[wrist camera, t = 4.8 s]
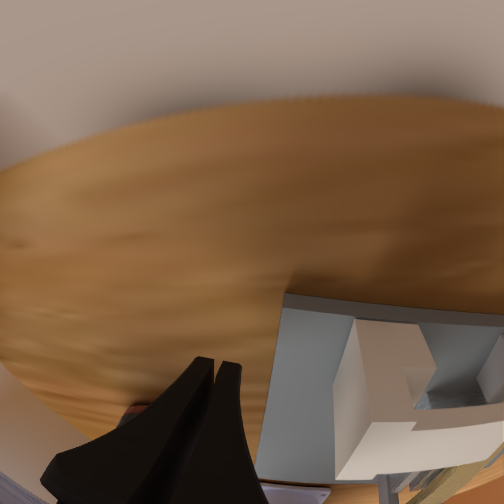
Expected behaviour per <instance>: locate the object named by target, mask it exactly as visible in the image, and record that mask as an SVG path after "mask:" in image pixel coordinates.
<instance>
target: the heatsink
mask: <svg viewBox="0 0 504 504" xmlns="http://www.w3.org/2000/svg"><path fill="white" fill-rule="evenodd" d="M497 403H502V402H494V403H487V401H486V399H485V396H484V394H483V392H482V390H469V391H450V392H426V394H425V395H424V397H423V399H422V400H421V402H420V403H419V405H418V407H417V408H416V410H427V409H446V408H460V407H471V406H481V405H490V404H497ZM444 469H445V468H440V469H433V470H425V471H415V472H405V473H391V474H384V475H389V476H390V486H391V493H399V492H401V491H402V490H403V489H404V488H405V487H406V486H407V485H408V484H409V486H410V491H417V490H419V489H420V488H421V487H422V486H423V485H424V484H425V483H427V485H428V484H429V483H430V482H431V481H433V480H434V479H435V478H436V477H437V476H438V475H439V474H440V473H441V472H442V471H443V470H444Z"/></svg>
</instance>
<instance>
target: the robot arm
mask: <svg viewBox="0 0 504 504" xmlns="http://www.w3.org/2000/svg"><path fill="white" fill-rule="evenodd" d="M241 372H242V366H241V365H240V364H238V363H232V362H227V361H223V362H222V364H221V366H220V368H219V371H218V373H217V375H216V379H215V384H214V359H210V358H205V357H200V356H198V357H196V358H195V359H194V361H193V362H192V363H191V364H190V365H189V366H188V368H187V369H186V370H185V371H184V372H183V373H182V374H181V375H180V376H179V378H178V379H177V380H176V381H175V382H174V383H173V384H172V385H171V386H170V387H169V388H168V389H167V390H166V391H165V392H164V393H162V394H161V395H160V396H159V397H158V398H157V399H156V400H154V401H153V402H152V403H151V404H150V405H149V406H147V407H146V408H145V409H144V410H142V411H141V412H140V413H138V414H137V415H136V416H134V417H133V418H131V419H130V420H129V421H127V422H125V423H124V424H122V425H121V426H119V427H117V428H116V429H114V430H112V431H111V432H109V433H107V434H105V435H103V436H101V437H99V438H97V439H95V440H93V441H91V442H88V443H86V444H84V445H81V446H79V447H76V448H73V449H70V450H67V451H64V452H61V453H58V454H56V456H55V457H54V458H53V459H52V461H51V462H50V464H49V465H48V467H47V468H46V470H45V472H44V474H43V475H42V477H41V478H40V482H41V484H42V485H43V486H44V487H45V488H46V489H47V490H48V491H49V492H50V493H51V494H52V495H53V496H54V497H55V498H56V499H57V500H58V502H57V504H322V503H323V502H324V501H325V500H326V498H327V497H328V496H329V495H330V493H331V489H330V488H318V487H301V486H288V485H278V484H269V483H261V482H259V479H258V476H257V474H256V471H255V468H254V465H253V462H252V459H251V456H250V453H249V449H248V445H247V441H246V437H245V432H244V427H243V422H242V416H241V407H240V384H241ZM0 504H48V503H47V502H45V501H43V500H42V499H40V498H39V497H37V496H35V495H33V494H32V493H31V492H29V491H28V490H26V489H25V488H23V487H22V486H20V485H19V484H17V483H16V482H15V481H13V480H12V479H10V478H9V477H8V476H6V475H5V474H4V473H2V472H1V471H0Z"/></svg>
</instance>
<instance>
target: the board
mask: <svg viewBox="0 0 504 504" xmlns="http://www.w3.org/2000/svg"><path fill="white" fill-rule="evenodd" d="M354 319H360V320H370V321H381V322H392V323H404V324H416V325H419V327H420V330H421V332H422V334H423V336H424V339H425V341H426V343H427V345H428V348H429V350H430V352H431V355H432V357H433V359H434V362H435V364H436V367H437V369H436V371H435V373H434V375H433V376H432V378H431V380H430V382H429V384H428V385H427V387H426V389H425V390H424V392H423V394H422V396H421V397H420V399H419V401H418V402H417V404H416V405H415V407H414V410H416V408H417V407H418V405H419V403H420V402H421V400H422V399H423V397H424V395H425V394H426V392H450V391H469V390H482V392H483V394H484V396H485V399H486V401H487V403H494V402H502V401H503V400H504V315H498V314H483V313H469V312H457V311H445V310H433V309H422V308H412V307H401V306H391V305H382V304H372V303H363V302H354V301H346V300H337V299H329V298H321V297H312V296H305V295H297V294H289V293H284V298H283V305H282V312H281V318H280V325H279V331H278V337H277V344H276V350H275V356H274V362H273V368H272V374H271V380H270V385H269V391H268V397H267V402H266V408H265V413H264V419H263V424H262V430H261V435H260V440H259V445H258V450H257V456H256V461H255V466H254V468H255V471H256V474H257V476H258V478H263V479H271V480H280V481H290V482H303V483H321V484H373V483H378V488H379V502H380V504H399V499H398V493H391V486H390V476H389V475H384V474H377V475H376V476H375V477H374V478H373V479H372V480H335V430H334V402H333V383H334V380H335V377H336V374H337V371H338V368H339V365H340V362H341V359H342V356H343V353H344V350H345V347H346V344H347V341H348V338H349V334H350V331H351V328H352V325H353V321H354ZM503 453H504V448H503V449H502V450H501V451H500V452H499V453H498V454H497V455H496V456H495V457H494V458H493V459H492V460H491V461H490V462H489V463H488V464H487V465H486V466H485V467H484V468H487V467H489V466H491V465H492V464H493V463H494V462H495V461H496V460H497V459H498V458H499V457H500V456H501V455H502V454H503ZM426 486H427V483H425V484H424V485H423V486H422V487H421V489H422V490H423V489H424V488H425V487H426ZM442 504H444V502H443V503H442Z"/></svg>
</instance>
